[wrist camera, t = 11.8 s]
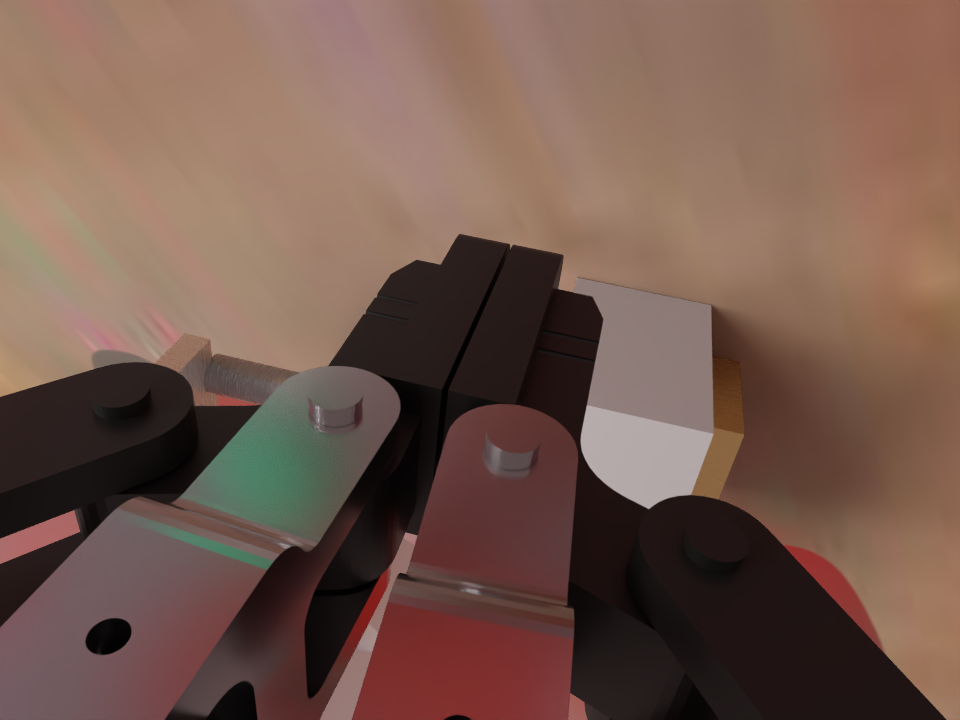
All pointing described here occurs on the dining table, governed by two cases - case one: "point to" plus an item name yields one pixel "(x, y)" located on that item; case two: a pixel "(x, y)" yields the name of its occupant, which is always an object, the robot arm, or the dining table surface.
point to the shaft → (221, 373)
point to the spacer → (722, 429)
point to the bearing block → (649, 393)
